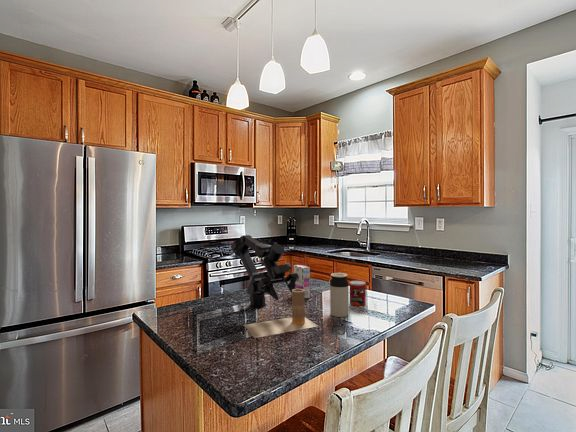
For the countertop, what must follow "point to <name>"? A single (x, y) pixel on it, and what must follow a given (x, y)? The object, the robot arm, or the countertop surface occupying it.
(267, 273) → the robot arm
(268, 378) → the countertop surface
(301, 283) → the candy bar box
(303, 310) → the sleeve
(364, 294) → the canned food
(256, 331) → the pin board
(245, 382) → the countertop surface
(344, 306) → the travel mug
